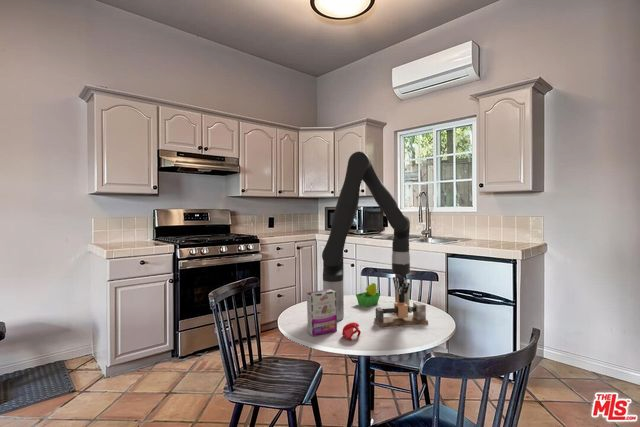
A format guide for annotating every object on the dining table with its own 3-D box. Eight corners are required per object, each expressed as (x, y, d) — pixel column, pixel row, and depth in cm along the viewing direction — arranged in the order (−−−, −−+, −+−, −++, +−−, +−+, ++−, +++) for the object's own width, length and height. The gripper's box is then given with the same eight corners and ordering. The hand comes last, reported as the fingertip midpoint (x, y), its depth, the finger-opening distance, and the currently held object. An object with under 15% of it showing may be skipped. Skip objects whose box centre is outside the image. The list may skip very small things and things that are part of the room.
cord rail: (380, 327, 146) (380, 309, 146) (374, 321, 154) (374, 303, 154) (428, 324, 150) (427, 306, 149) (419, 318, 157) (419, 300, 157)
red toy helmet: (366, 329, 135) (357, 318, 139) (357, 328, 131) (348, 316, 135) (353, 344, 137) (345, 333, 141) (344, 344, 132) (336, 332, 136)
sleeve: (398, 318, 149) (398, 294, 148) (394, 314, 154) (394, 291, 154) (407, 317, 149) (407, 293, 149) (402, 313, 155) (402, 290, 154)
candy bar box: (331, 327, 147) (330, 288, 146) (337, 331, 142) (336, 291, 142) (306, 332, 142) (306, 292, 141) (312, 336, 137) (311, 294, 137)
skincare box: (409, 307, 174) (409, 282, 173) (408, 309, 170) (407, 284, 169) (396, 305, 176) (396, 281, 176) (394, 308, 172) (394, 283, 172)
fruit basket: (370, 300, 187) (370, 279, 186) (383, 304, 180) (383, 282, 179) (354, 304, 179) (354, 282, 179) (367, 308, 173) (367, 285, 172)
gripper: (386, 259, 157) (387, 298, 158) (398, 264, 144) (398, 307, 144) (402, 258, 158) (402, 297, 159) (415, 264, 145) (416, 306, 145)
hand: (400, 301), depth 151 cm, fingers closed
